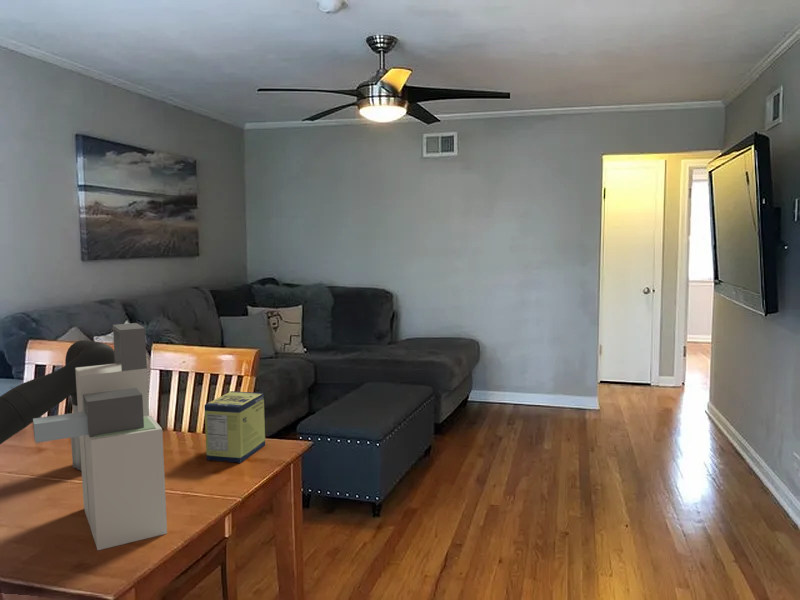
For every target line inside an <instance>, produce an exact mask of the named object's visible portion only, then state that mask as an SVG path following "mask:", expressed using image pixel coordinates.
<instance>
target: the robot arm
mask: <svg viewBox="0 0 800 600" xmlns="http://www.w3.org/2000/svg"><path fill="white" fill-rule="evenodd" d="M64 364H65V365H63V366H62V367H60V368H59V369H57V370H55V371H52V372H50V373H47V374H44V375H41V376H38V377H37V378H34V379H30V380H28V381H26V382H23V383H21V384H19V385H17V386H14V387H12V388H11V389H10V390H8V391H6V392H5V393H3V394H2V395H0V445H1V444H3V443H4V442H7V440H10V439H11V438H12V437H13V436H14V435H17V434H18V433H19V432H21V431H23V430H24V429H25V428H26V427H29V425H31V424H33V419H34V418H41V417H43V416H44V415H45V414H46V413H48V412H49V411H51V410H52V409H54V408H55V407H57V406H58V405H60V404H61V403H62V402H63V401H65V400H66V399H68V398H69V397H71V403H72V404H71V405H72V406H71V407H72V413H77V412H78V404H77V388H76V371H75V368H78V367H87V366H97V365H106V364H115V355H114V348H112V346H110V345H109V344H106V343H103V342H99V341H94V340H89V339H88V340H86V339H84V340H77V341H76V342H74V343H72V344H71V345H70V346H69V348H68V349H67V351H66V354H65V362H64ZM70 442H71V445H70V446H71V457H72V458H71V460H72V468H74V469H77V470H78V471H81V472H82V469H81V453H80V436H77V437H71V438H70Z"/></svg>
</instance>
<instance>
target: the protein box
mask: <svg viewBox="0 0 800 600" xmlns="http://www.w3.org/2000/svg"><path fill="white" fill-rule="evenodd" d="M264 396H265V394H264V392H253V391H251V392H249V391H248V392H247V391H236V390H235V391H233V390H232V391H229V392H227V393H225V394H223V395H221V396H218V397H217V398H215V399H213V400H211V401H209V402H207V403H205V404H204V406H203V407H204V424H205V425H204V427H205V428H204V429H205V430H204V431H205V449H206V450H205V451H206V454H205V455H206V460H207V461H210V460H215V461H214V462H223V461H227V462H226V463H234V462H237V463H236V464H242V463H243V462H245V459H246V460H247V459H248V458H251V456H252V455H253V454H255V453H257V452H258V451H259V450H261V449H263V447H265V446H266V426H265V423H266V421H265V420H266V419H265V399H264V398H265V397H264ZM242 461H243V462H242Z"/></svg>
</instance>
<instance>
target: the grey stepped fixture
mask: <svg viewBox="0 0 800 600" xmlns="http://www.w3.org/2000/svg"><path fill="white" fill-rule="evenodd" d="M112 334H113V335H112V337H113V350H114V355H115V363H114V364H106V365H97V366H87V367H78V368H75V371H76V388H77V404H78V412H84V403H83V394H90V393H98V392H106V391H114V390H122V389H130V388H137V389H138V390H139V392H140V393H141V394H142V398H143V418H144V428H139V429H133V430H126V431H120V432H114V433H107V434H101V435H95V436H89V435H84V436H80V453H81V469H82V471H81V480H82V481H81V483H82V498H83V499H82V501H83V510H84V514H85V516H86V519H87V522H88V525H89V529H90V531H91V534H92V537H93V541H94V543H95V546H96V551H102V550H106V549H109V548H113V547H114V548H115V547H118V546H121V545H125V544H129V543H130V544H131V543H134V542H138V541H142V540H146V539H150V538H155V537H159V536H162V535H167V534H168V523H167V522H168V521H167V502H166V499H167V498H166V481H165V463H164V462H165V460H164V458H165V457H164V442H163V441H164V438H163V437H164V436H163V428H162V427H161V426H160V424H159V423H158V422H157V421H156V420H155V419H154V417H153V416H152V415H150V405H149V403H150V402H149V386H148V385H149V384H148V366H147V365H148V363H147V347H146V346H147V345H146V344H147V342H146V328H145V327H144V326H143V325H140V324H139V323H137V322H132V323H123V324H122V323H118V324H112Z"/></svg>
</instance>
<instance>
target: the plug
mask: <svg viewBox="0 0 800 600" xmlns="http://www.w3.org/2000/svg"><path fill="white" fill-rule="evenodd" d="M83 403H84V412H77V413H73V412H69V413H63V414H57V415H49V416H41V417H40V418H34V419H33V423H32V425H33V438H34V443H36V444H38V443H39V444H40V443H45V442H51V441H57V440H64V439H71V437H77V436H84V435H89V436H95V435H101V434H107V433H114V432H120V431H126V430H133V429H139V428H144V418H143V398H142V394H141V393H140V392H139V390H138V389H137V388H130V389H122V390H114V391H106V392H98V393H90V394H83Z"/></svg>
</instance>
